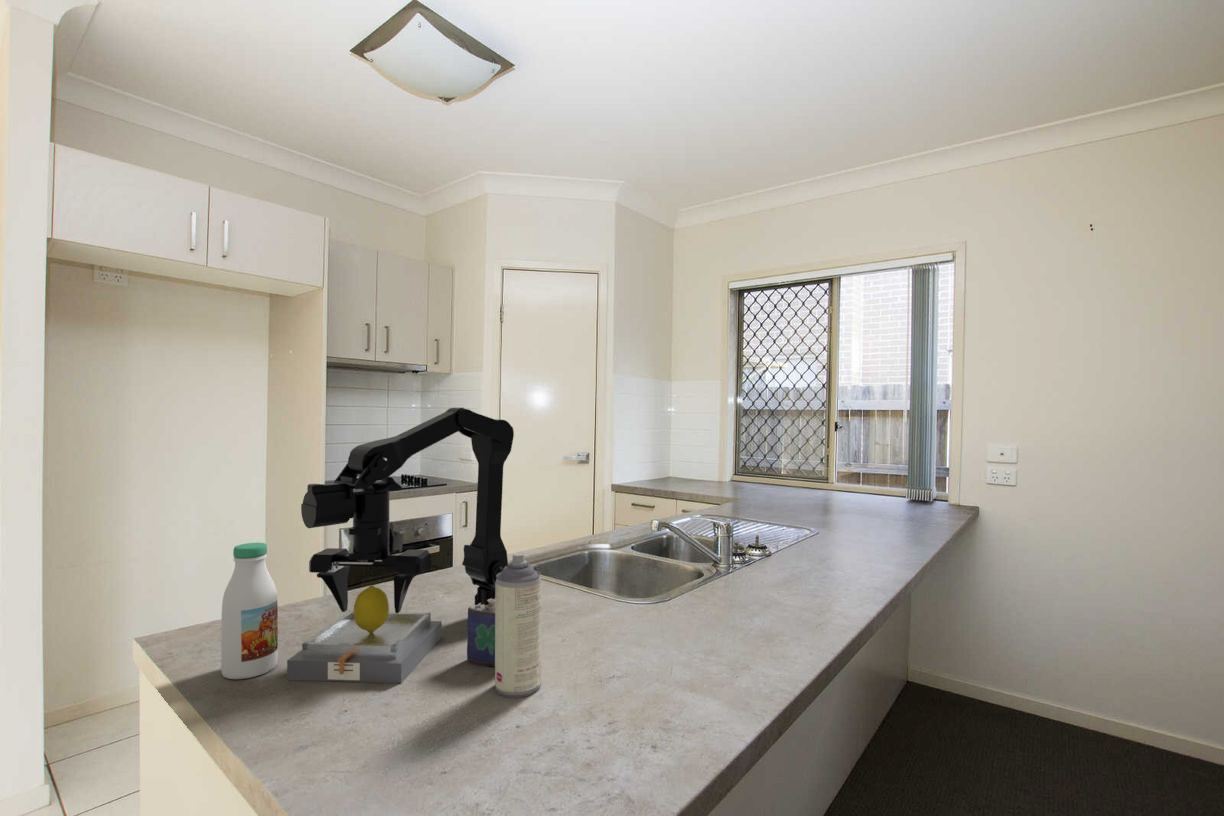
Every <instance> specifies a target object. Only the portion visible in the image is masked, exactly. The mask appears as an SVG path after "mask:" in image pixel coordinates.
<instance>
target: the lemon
mask: <svg viewBox="0 0 1224 816" xmlns="http://www.w3.org/2000/svg"><path fill="white" fill-rule="evenodd" d="M389 610H390V605H389V600H388V596H387V594H386V592H384V590H382V589H381V588H379V587H376V586H375V585H369V586H368V587H367V588H364V589H363V590H362V591H360V592H359V594H358V595H357V596H356V599H355V602H354V605H353V611H354V619H355V622H356V624H357V625H358V626H359V627H360V628H361V629H363V630H367V631H368V632H369V633H373V632H374V631H375V630H376V629H377V628H379V627H381V626H382V625H383V624H384V623H385V621H386V619H387V617H388V613H389V612H390V611H389Z"/></svg>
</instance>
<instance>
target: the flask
mask: <svg viewBox="0 0 1224 816" xmlns="http://www.w3.org/2000/svg"><path fill="white" fill-rule="evenodd" d="M487 601H488V602H489V604H488V605H486V606H485V605H484V604H482V605H481V603H479V604H478V605H475V604H473V605H470V606H469V607H468V609H467V640H466V641H467V643H466V659H467V660H466V662H467V663H468V664H471V665H474V666H475V665H476V666H480V667H491V668H495V598H494V599H488V600H487Z"/></svg>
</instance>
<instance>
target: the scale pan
mask: <svg viewBox="0 0 1224 816" xmlns="http://www.w3.org/2000/svg"><path fill="white" fill-rule="evenodd" d="M431 617H432V614H431V612H408V611H407V612H403V611H402V612H401V611H400V612H399V613H395V611H389V613H388V617H387V619H386V621H385V623H384V624H383V625H382V626H381V627H379V628H377V629H376V630H375V631H374V632H373V633H369V632H368V631H367V630H363V629H361V628H360V627H359V626H358V625H357V624H356V622H355V619H354V610H350V611H348V612H346V613H345V614H343V615H341V616H340V617H339V618H338V619H336V620H335V621H333V622H332V623H330V624H329V625H327V626H326V627H324V628H323V629H322V630H320V631H319V632H317V633H316V634H314V635H313V636H312V637H310V638H309V639H307V640H306V641H304V642H303V643H302V644H301V646H302V647H301V650H302V657H335V658H339V659H338V663H339V674H344V663H345V662H346V661H347V660H348V659H349V658H371V659H397V658H398V657H399V656H400V655H401V654H402V653H403V651H404V650H405V649H406V648H407V647H408V646H409V645H410V644H411V643H412V642H413V641H414V640H415V639H416V638H417V637H418V636H419V635H420V634H421V633H422V632H423V631H424V630H425V629H426V628H427V627H428V626H429V625H430V624H431V621H432V619H431Z"/></svg>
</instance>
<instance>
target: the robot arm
mask: <svg viewBox="0 0 1224 816" xmlns="http://www.w3.org/2000/svg"><path fill="white" fill-rule="evenodd" d="M514 431H515V430H514V427H513V426H512V425H511V424H510V422H508V421H507V420H505V419H494V418H492V417H488V416H487V415H484V414H480V413H477V412H475V411H473V410H471V409H469V408H467V407H450V408H448V409H447V410H446V411H445V412H443V413H441V414H439V415H437V416H434V417H432V418H430V419H428V420H426V421H424V422H422V423H420V424H418V425H416V426H413V427H412V428H410V429H408V430H406V431H404V432H403V431H402V432H401V433H400V434H397V435H396V436H395V435H394V436H391V437H387V438H383V439H378V440H372V441H368V442H367V443H363V444H359V445H357V446H355V447H354V448H352V449H351V450H350V451H349V456H348V458H347V462H346V465H345V466H344V467H343V468H342V470H341V472H339V474H338V475H337V477H336V478H335V479H334V481H333V482H332V483H321V484H320V483H309V484H307V489H306V490H307V492H305V494H304V496H303V498H302V499H303V500H302V503H301V504H300V505H301V506H300V509H301V518H302V521H303V524H304V526H305V527H306V528H307V529H314V528H321V527H326V526H336V525H340V524H342V525H343V524H347V523H348V522H349V521H350V519H352V527H350V528H348V532H349V533H348V534H349V536H351V535H352V551H351V552H349V551H348V549H347V548H336V547H335V548H330V547H329V548H328V547H327V548H325V549H323V550H322V551H318V552H316V553H314V554H312V556H311V557H310V559H309V561H308V563H309V564H308V568H309V569H308V572H309V573H312V574H313V573H315V574H316V577H317V578H319V579H322V581H323V582H324V583H325V585H326V586H327V588H328V589H329V591H330V592H331V594H332V596H333V597H334V600H335V602H336V603H337V605H338V607H339V609H340V611H341V612H342V613H345V612H347V611H348V606H349V605H348V604H349V593H348V591H349V589H348V575H349V572H350V569H351V567H376V568H377V567H380V568H381V567H383V568H384V567H385V568H387V567H388V568H392V567H393V568H394V569H395V571H396V572H397V574H395V575H393V600H394V601H393V605H394V612H395V613H399V612H401V610H402V608H403V604H404V601H405V598H406V597H407V596H406V595H407V593H408V590H409V589H410V586H411V583H412V581H413V579H414V578H415V577H417V576H419V574H422V573H423V572H424V571H425V570H427V569H428V568H429V567H431V566H432V555H431V554H430V552H429V550H428V549H407V550H405V551H403V552H402V550H403V544H404V543H403V542H404V537H405V534H404V533H401V532H398V531H394V523H393V522H391V521H390V492H396V491H398V492H399V491H402V490H403V487H402V485H400V484H399V483H398V482H396V481H395V479H394V478H393V477H391V476H392V475H393V474H394V473H396V472H397V471H398V470H399V469H401V468H402V467H403V466H404V465H405V463H407V461H408V460H409V459H410V458H411V457H413V456H414V455H416V454H417V453H420V452H421V451H424V450H425V449H427V448H429V447H431V446H433V445H435V444H437V443H438V442H441V441H442V440H444V439H446V438H448V437H451V436H453V435H454V434H456V433H459V434H461V435H462V436H465V437H466V438H470V439H471V440H470V441H471V449H472V452H473V454H474V456H475V459H476V462H477V465H478V469H477V471H478V472H477V488H476V489H477V490H476V492H477V493H476V510H475V511H476V514H475V532H474V533H475V534H474V538H473V540H472V541H471V542H470V544H464V546H463V561H462V563H461V566H464V570H465V573H466V574H467V576H468V577H470V579H471V582H472V585H474V586H478V587H477V588H476V589H477V592H476V594H475V595H474V605H478V604H479V603H481V605H482V604H484V605H485V606H486V605H488V604H489V602H488V601H487V600H488V599H494V598H495V582H496V579H497V577H496V575H497V574H498V573H500V572H502V570H503V569H504V568H505V567H506V566H508V564H509V561H508V552H507V548H506V545H505V544H504V541H503V540H502V535H501V533H502V532H501V530H502V510H503V509H502V504H503V483H504V482H503V481H504V467H505V466H504V465H505V462H506V460H507V459H508V457H509V456H510V453H511V452H512V449H513V447H512V446H513V443H514V442H513V441H514V436H515V432H514ZM401 552H402V553H401ZM393 553H394V554H393ZM395 553H400V554H398V555H397V554H396V555H395ZM392 554H393V555H392Z"/></svg>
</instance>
